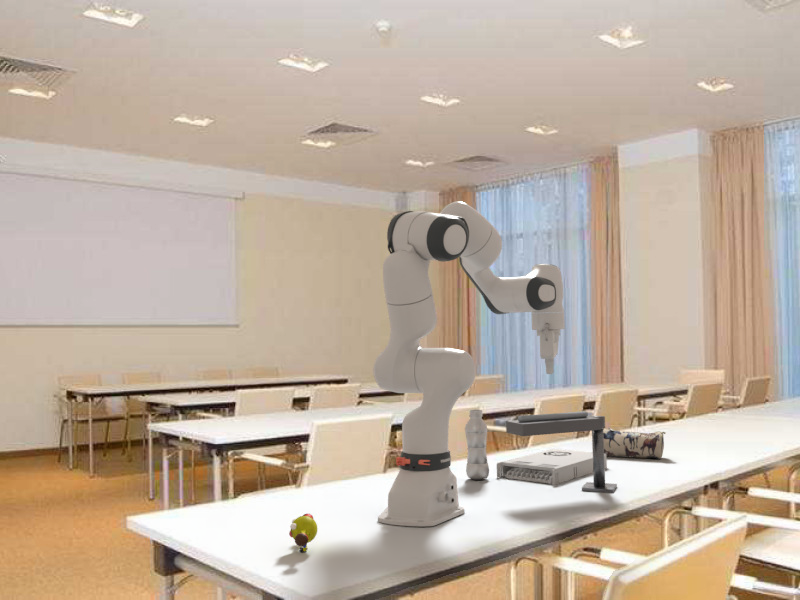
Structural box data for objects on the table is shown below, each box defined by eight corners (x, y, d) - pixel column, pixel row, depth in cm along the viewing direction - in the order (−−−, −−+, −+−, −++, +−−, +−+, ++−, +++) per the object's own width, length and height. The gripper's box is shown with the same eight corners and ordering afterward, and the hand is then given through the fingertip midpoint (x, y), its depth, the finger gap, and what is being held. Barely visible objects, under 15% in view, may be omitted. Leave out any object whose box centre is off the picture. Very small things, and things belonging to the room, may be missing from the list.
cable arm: (594, 425, 205) (593, 408, 206) (613, 428, 198) (612, 411, 198) (506, 432, 195) (505, 414, 195) (522, 436, 187) (522, 417, 187)
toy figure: (293, 539, 156) (293, 506, 157) (320, 538, 157) (319, 505, 157) (285, 565, 138) (284, 528, 139) (315, 564, 139) (314, 527, 139)
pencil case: (596, 457, 252) (595, 428, 252) (603, 453, 259) (602, 425, 260) (664, 461, 241) (663, 431, 242) (669, 457, 248) (668, 428, 249)
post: (612, 492, 195) (610, 431, 196) (581, 490, 198) (579, 430, 199) (616, 486, 202) (614, 427, 203) (586, 485, 205) (584, 426, 206)
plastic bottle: (488, 481, 213) (486, 411, 214) (464, 481, 214) (463, 411, 215) (490, 477, 219) (488, 409, 220) (467, 477, 221) (465, 409, 222)
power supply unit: (496, 480, 219) (496, 462, 219) (553, 464, 244) (552, 448, 244) (553, 487, 207) (553, 469, 207) (607, 470, 231) (606, 453, 232)
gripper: (558, 323, 194) (560, 376, 194) (561, 322, 214) (563, 370, 214) (533, 324, 196) (535, 377, 196) (538, 323, 216) (540, 370, 215)
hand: (549, 373), depth 205 cm, fingers closed
